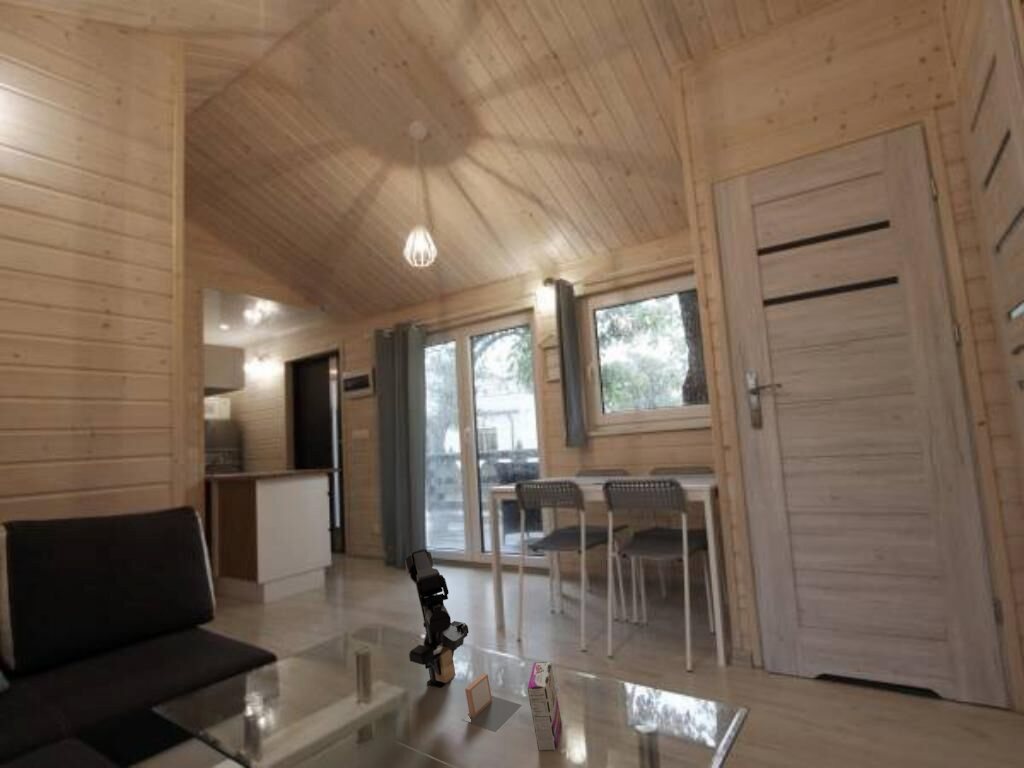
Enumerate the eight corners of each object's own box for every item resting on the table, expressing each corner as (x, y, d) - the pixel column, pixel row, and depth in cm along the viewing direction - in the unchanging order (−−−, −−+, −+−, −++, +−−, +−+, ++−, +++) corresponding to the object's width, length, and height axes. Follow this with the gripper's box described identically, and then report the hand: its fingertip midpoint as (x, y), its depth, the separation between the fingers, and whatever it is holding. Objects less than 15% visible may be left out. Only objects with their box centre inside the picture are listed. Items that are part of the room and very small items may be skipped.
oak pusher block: (436, 680, 157) (431, 652, 156) (445, 672, 160) (441, 645, 160) (446, 683, 154) (441, 655, 154) (455, 675, 157) (451, 648, 157)
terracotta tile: (469, 716, 153) (465, 688, 153) (487, 699, 159) (483, 673, 159) (474, 718, 152) (469, 690, 152) (492, 701, 158) (487, 674, 158)
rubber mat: (462, 720, 152) (461, 719, 152) (489, 695, 162) (489, 694, 162) (495, 732, 145) (495, 731, 145) (521, 706, 154) (521, 704, 154)
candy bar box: (543, 721, 146) (533, 661, 146) (561, 721, 145) (551, 660, 145) (537, 751, 135) (526, 687, 135) (557, 751, 134) (546, 686, 134)
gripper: (432, 638, 144) (441, 696, 145) (478, 606, 159) (486, 659, 159) (403, 631, 151) (413, 686, 151) (450, 601, 166) (458, 652, 166)
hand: (444, 670), depth 157 cm, fingers closed on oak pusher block, 4 cm apart
